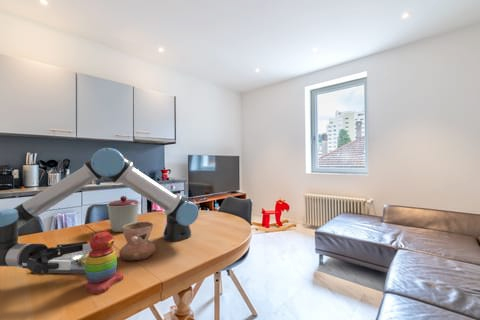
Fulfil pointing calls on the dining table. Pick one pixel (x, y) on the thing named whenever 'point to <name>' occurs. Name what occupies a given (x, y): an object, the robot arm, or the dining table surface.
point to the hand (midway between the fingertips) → (86, 255)
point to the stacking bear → (101, 264)
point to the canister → (122, 213)
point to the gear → (71, 256)
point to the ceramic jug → (137, 241)
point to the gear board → (73, 267)
